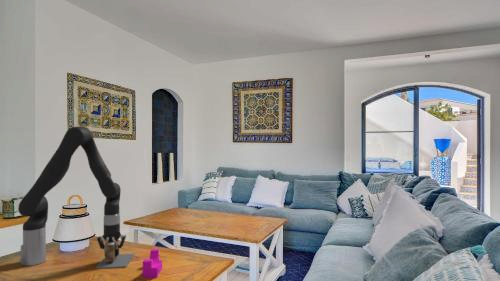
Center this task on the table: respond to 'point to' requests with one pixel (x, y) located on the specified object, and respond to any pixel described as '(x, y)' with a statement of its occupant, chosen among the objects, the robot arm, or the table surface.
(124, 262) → the mat
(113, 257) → the slab
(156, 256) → the toy block
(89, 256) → the table surface
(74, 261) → the table surface
